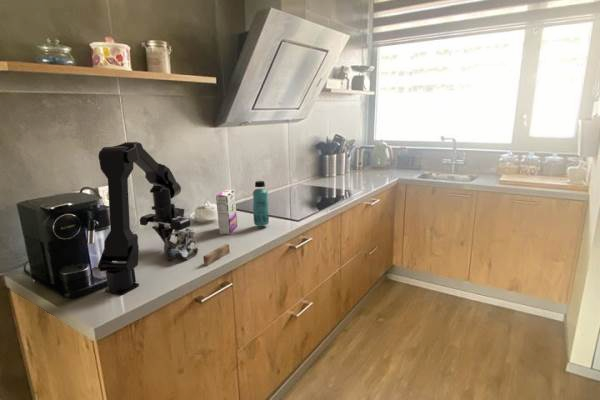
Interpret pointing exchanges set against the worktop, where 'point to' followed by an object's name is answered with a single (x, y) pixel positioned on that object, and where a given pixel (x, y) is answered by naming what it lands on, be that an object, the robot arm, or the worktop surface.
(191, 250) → the foil
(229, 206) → the candy bar box
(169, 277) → the worktop surface
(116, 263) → the robot arm
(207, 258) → the bar
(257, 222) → the beverage bottle
